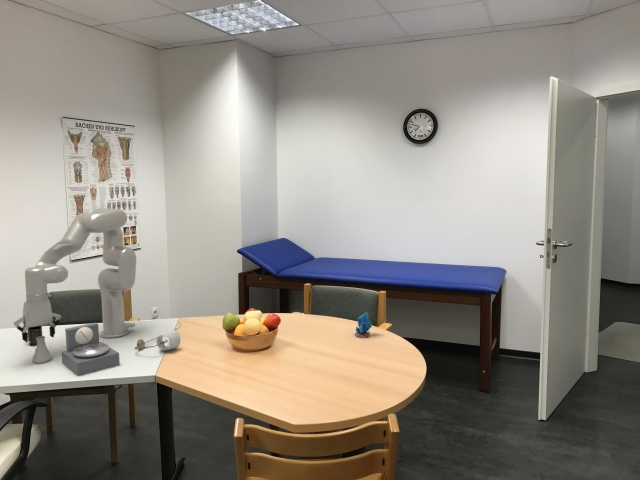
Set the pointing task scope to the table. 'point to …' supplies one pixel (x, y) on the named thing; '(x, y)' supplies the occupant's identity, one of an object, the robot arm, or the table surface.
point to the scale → (86, 364)
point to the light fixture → (172, 337)
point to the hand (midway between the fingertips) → (39, 338)
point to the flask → (41, 351)
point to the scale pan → (91, 350)
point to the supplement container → (34, 334)
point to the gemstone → (363, 326)
